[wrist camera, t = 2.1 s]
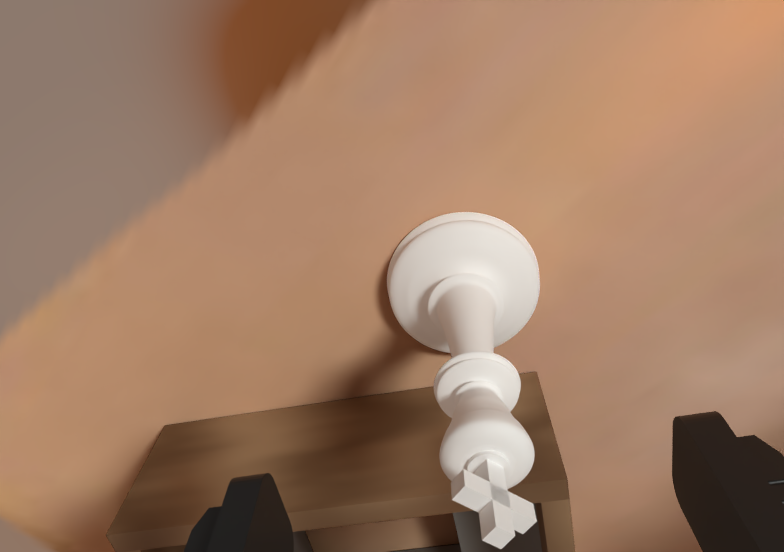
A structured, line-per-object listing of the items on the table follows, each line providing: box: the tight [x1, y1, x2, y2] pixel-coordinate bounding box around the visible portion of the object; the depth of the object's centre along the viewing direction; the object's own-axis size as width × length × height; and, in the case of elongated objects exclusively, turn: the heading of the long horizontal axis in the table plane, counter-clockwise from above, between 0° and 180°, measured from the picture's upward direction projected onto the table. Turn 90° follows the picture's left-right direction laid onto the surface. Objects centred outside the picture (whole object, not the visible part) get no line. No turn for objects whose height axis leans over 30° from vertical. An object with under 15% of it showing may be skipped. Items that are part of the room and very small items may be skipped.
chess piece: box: [387, 212, 540, 549], centre depth 16 cm, size 5×5×10 cm
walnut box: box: [106, 372, 575, 552], centre depth 23 cm, size 14×10×5 cm
